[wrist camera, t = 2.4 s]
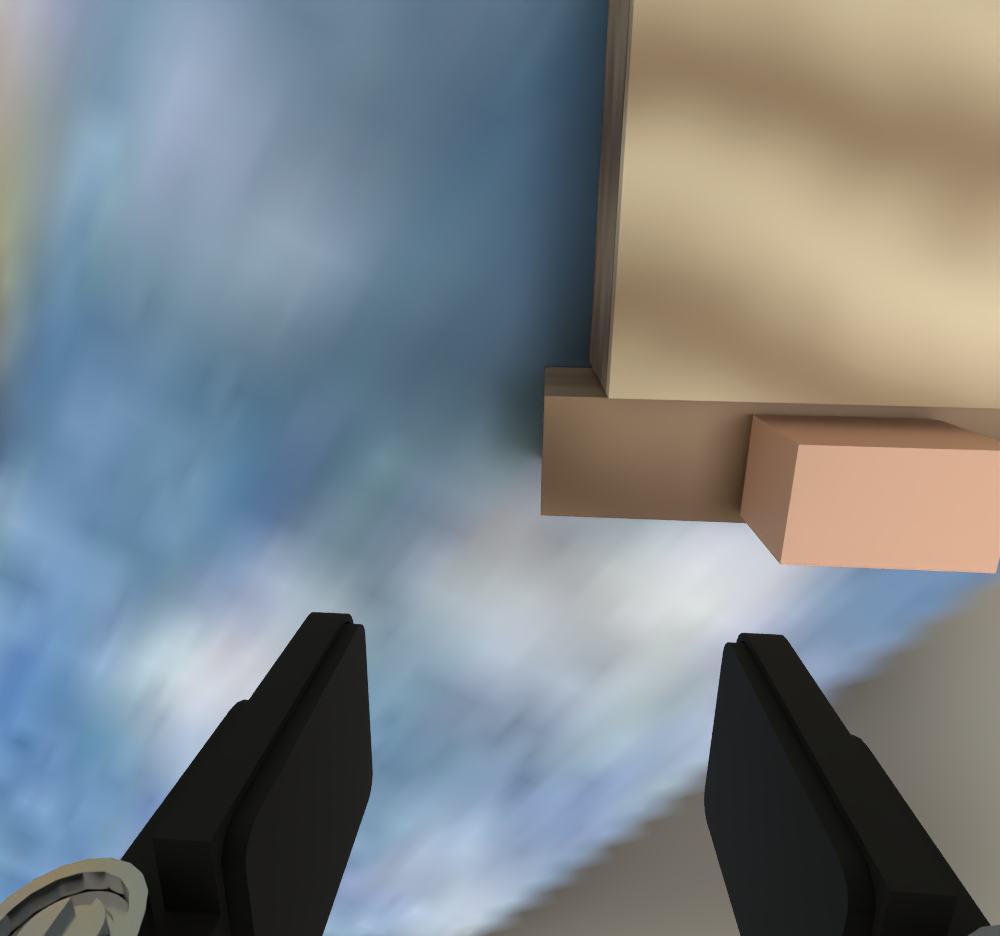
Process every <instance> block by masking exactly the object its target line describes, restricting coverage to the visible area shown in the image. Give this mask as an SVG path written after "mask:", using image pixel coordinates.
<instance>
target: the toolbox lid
mask: <svg viewBox="0 0 1000 936" xmlns="http://www.w3.org/2000/svg"><path fill="white" fill-rule="evenodd" d="M606 394H607V396H608V398H614V399H653V400H691V401H729V402H768V403H806V404H845V405H883V406H922V407H960V408H998V409H1000V0H630V14H629V30H628V46H627V62H626V78H625V94H624V110H623V126H622V142H621V158H620V174H619V190H618V206H617V222H616V238H615V254H614V270H613V286H612V302H611V318H610V334H609V350H608V366H607V382H606Z"/></svg>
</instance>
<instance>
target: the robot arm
mask: <svg viewBox="0 0 1000 936" xmlns="http://www.w3.org/2000/svg"><path fill="white" fill-rule="evenodd" d="M372 776H373V770H372V751H371V733H370V714H369V696H368V677H367V659H366V641H365V629H364V626H363V625H362V624H353V620H352V616H351V615H350V614H341V613H321V612H312V613H310V614H309V615H308V617H307V618H306V620H305V621H304V622H303V624H302V625H301V627H300V628H299V629H298V631H297V632H296V634H295V635H294V637H293V638H292V639H291V641H290V642H289V644H288V645H287V646H286V648H285V649H284V651H283V652H282V654H281V655H280V656H279V658H278V659H277V661H276V662H275V664H274V665H273V666H272V668H271V669H270V671H269V672H268V673H267V675H266V676H265V678H264V679H263V681H262V682H261V683H260V685H259V686H258V688H257V689H256V690H255V692H254V693H253V695H252V696H251V698H250V699H249V700H242V701H240V702H237V703H236V704H235V705H234V706H233V707H232V708H231V710H230V711H229V712H228V714H227V715H226V716H225V718H224V719H223V720H222V722H221V723H220V724H219V726H218V727H217V729H216V730H215V731H214V733H213V734H212V735H211V737H210V738H209V739H208V741H207V742H206V744H205V745H204V746H203V748H202V749H201V750H200V752H199V753H198V754H197V756H196V757H195V759H194V760H193V761H192V763H191V764H190V765H189V767H188V768H187V770H186V771H185V772H184V774H183V775H182V776H181V778H180V779H179V780H178V782H177V783H176V785H175V786H174V787H173V789H172V790H171V791H170V793H169V794H168V795H167V797H166V798H165V800H164V801H163V802H162V804H161V805H160V806H159V808H158V809H157V810H156V812H155V813H154V815H153V816H152V817H151V819H150V820H149V821H148V823H147V824H146V826H145V827H144V828H143V830H142V831H141V832H140V834H139V835H138V836H137V838H136V839H135V841H134V842H133V843H132V845H131V846H130V847H129V849H128V850H127V851H126V853H125V854H124V856H123V857H122V858H121V860H118V859H114V858H97V859H86V860H83V861H79V862H75V863H72V864H68V865H64V866H61V867H59V868H57V869H55V870H53V871H51V872H49V873H47V874H44V875H42V876H40V877H38V878H36V879H34V880H33V881H31V882H30V883H28V884H27V885H25V886H24V887H22V888H21V889H19V890H18V891H16V892H15V893H13V894H12V895H10V896H9V897H8V898H6V899H5V900H4V901H3V902H2V903H1V904H0V936H322V935H323V932H324V929H325V926H326V923H327V921H328V918H329V915H330V912H331V909H332V906H333V903H334V900H335V897H336V894H337V891H338V888H339V885H340V882H341V879H342V876H343V873H344V871H345V868H346V865H347V862H348V859H349V856H350V853H351V850H352V847H353V844H354V841H355V838H356V835H357V832H358V829H359V826H360V824H361V821H362V818H363V815H364V812H365V809H366V806H367V803H368V800H369V796H370V792H371V786H372ZM704 795H705V796H704V805H705V814H706V820H707V824H708V827H709V830H710V834H711V837H712V841H713V844H714V848H715V851H716V854H717V857H718V861H719V864H720V868H721V871H722V875H723V878H724V881H725V885H726V888H727V891H728V895H729V898H730V902H731V905H732V908H733V912H734V915H735V918H736V922H737V925H738V929H739V932H740V935H741V936H1000V925H995V926H991V925H990V924H989V922H988V921H987V919H986V918H985V917H984V915H983V914H982V912H981V911H980V909H979V908H978V906H977V905H976V903H975V902H974V900H973V899H972V898H971V896H970V895H969V893H968V892H967V890H966V889H965V887H964V886H963V885H962V883H961V882H960V880H959V879H958V877H957V876H956V874H955V873H954V871H953V870H952V869H951V867H950V866H949V864H948V863H947V861H946V860H945V858H944V857H943V855H942V854H941V852H940V851H939V850H938V848H937V847H936V845H935V844H934V842H933V841H932V839H931V838H930V837H929V835H928V834H927V832H926V831H925V829H924V828H923V826H922V825H921V823H920V822H919V821H918V819H917V818H916V816H915V815H914V813H913V812H912V810H911V809H910V807H909V806H908V804H907V803H906V802H905V800H904V799H903V797H902V796H901V794H900V793H899V791H898V790H897V788H896V787H895V786H894V784H893V783H892V781H891V780H890V778H889V777H888V775H887V774H886V772H885V771H884V770H883V768H882V767H881V765H880V764H879V762H878V761H877V759H876V758H875V756H874V755H873V754H872V752H871V751H870V749H869V748H868V747H867V745H866V744H865V743H864V742H863V741H862V740H861V739H860V738H858V737H856V736H854V735H850V733H849V732H848V730H847V729H846V727H845V726H844V724H843V723H842V721H841V720H840V718H839V717H838V715H837V714H836V712H835V711H834V709H833V708H832V706H831V705H830V703H829V702H828V700H827V699H826V697H825V696H824V694H823V693H822V691H821V690H820V688H819V687H818V685H817V684H816V682H815V681H814V679H813V678H812V676H811V675H810V673H809V672H808V670H807V669H806V667H805V666H804V664H803V663H802V661H801V660H800V658H799V657H798V655H797V654H796V652H795V651H794V649H793V648H792V646H791V645H790V643H789V642H788V640H787V639H786V638H785V637H784V636H783V635H775V634H754V633H741V634H740V635H739V636H738V639H737V642H736V643H729V642H727V643H726V644H725V647H724V650H723V657H722V664H721V672H720V679H719V687H718V694H717V702H716V709H715V717H714V725H713V732H712V740H711V747H710V755H709V762H708V770H707V777H706V785H705V794H704Z"/></svg>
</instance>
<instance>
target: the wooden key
mask: <svg viewBox="0 0 1000 936" xmlns="http://www.w3.org/2000/svg"><path fill="white" fill-rule="evenodd" d="M740 516H741V517H742V518H743V519H744V521H745V522H746V523H747V524H748V525H749V527H750V528H751V529H752V530H753V532H754V533H755V534H756V535H757V536H758V538H759V539H760V540H761V541H762V543H763V544H764V545H765V546H766V547H767V549H768V550H769V551H770V552H771V553H772V555H773V556H774V557H775V558H776V560H777V561H778V562H779V563H780V564H787V565H811V566H835V567H859V568H883V569H907V570H931V571H955V572H979V573H996V570H997V566H998V562H999V558H1000V441H997V440H994V439H991V438H988V437H986V436H983V435H980V434H977V433H974V432H972V431H969V430H966V429H963V428H961V427H958V426H955V425H952V424H949V423H947V422H944V421H941V420H926V419H889V418H853V417H816V416H779V415H753V420H752V428H751V436H750V443H749V451H748V458H747V466H746V474H745V481H744V489H743V496H742V504H741V512H740Z"/></svg>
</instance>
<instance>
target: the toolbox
mask: <svg viewBox="0 0 1000 936" xmlns="http://www.w3.org/2000/svg"><path fill="white" fill-rule="evenodd" d="M629 14H630V0H609V7H608V25H607V44H606V62H605V81H604V99H603V118H602V136H601V155H600V173H599V192H598V210H597V228H596V247H595V265H594V284H593V302H592V321H591V339H590V358H589V362H590V364H591V366H592V367H593V368H569V367H545V384H544V414H543V443H542V479H541V515H549V516H576V517H602V518H629V519H655V520H681V521H708V522H734V523H746V522H745V521H744V519H743V518H742V517H741V516H740V512H741V504H742V496H743V489H744V481H745V474H746V466H747V458H748V451H749V443H750V436H751V428H752V420H753V415H779V416H816V417H853V418H889V419H926V420H941V421H944V422H947V423H949V424H952V425H955V426H958V427H961V428H963V429H966V430H969V431H972V432H974V433H977V434H980V435H983V436H986V437H988V438H991V439H994V440H997V441H1000V409H998V408H960V407H922V406H883V405H845V404H806V403H768V402H729V401H691V400H653V399H614V398H608V396H607V394H606V382H607V366H608V350H609V334H610V318H611V302H612V286H613V270H614V254H615V238H616V222H617V206H618V190H619V174H620V158H621V142H622V126H623V110H624V94H625V78H626V62H627V46H628V30H629Z"/></svg>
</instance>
